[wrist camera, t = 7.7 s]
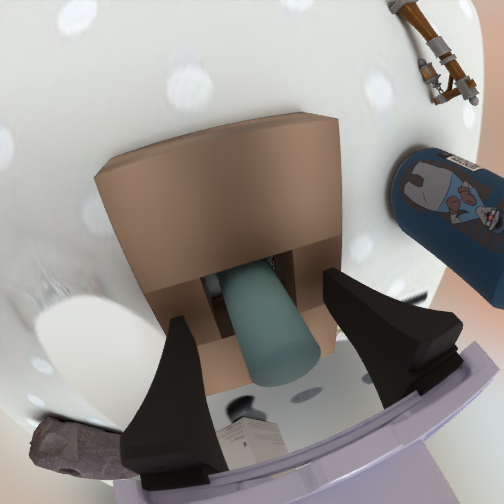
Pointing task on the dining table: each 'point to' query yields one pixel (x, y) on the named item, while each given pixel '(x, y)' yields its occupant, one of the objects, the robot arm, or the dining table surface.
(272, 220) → the hole block
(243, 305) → the peg
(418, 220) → the soda can
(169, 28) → the dining table surface
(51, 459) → the perforated stone tool
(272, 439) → the supplement box
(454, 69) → the brown long banded part
